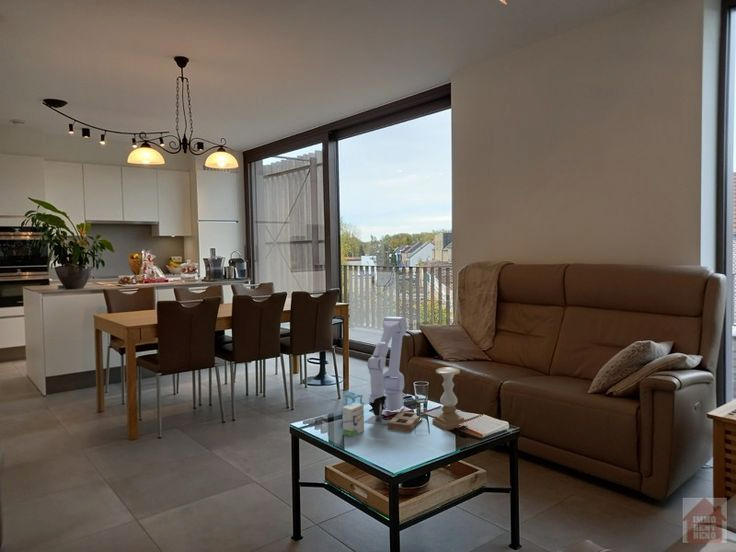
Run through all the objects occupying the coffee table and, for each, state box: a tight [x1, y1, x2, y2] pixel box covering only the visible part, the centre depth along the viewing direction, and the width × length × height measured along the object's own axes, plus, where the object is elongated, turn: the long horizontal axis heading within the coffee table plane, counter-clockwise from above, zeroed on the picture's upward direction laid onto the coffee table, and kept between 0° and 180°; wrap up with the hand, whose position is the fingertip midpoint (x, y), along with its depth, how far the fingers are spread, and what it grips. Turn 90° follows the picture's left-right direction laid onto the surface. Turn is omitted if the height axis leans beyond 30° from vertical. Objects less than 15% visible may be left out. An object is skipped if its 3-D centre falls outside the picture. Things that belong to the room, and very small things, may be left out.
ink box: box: [342, 403, 365, 438], centre depth 222 cm, size 9×5×12 cm, turn 143°
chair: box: [341, 391, 365, 419], centre depth 241 cm, size 8×8×12 cm
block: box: [386, 410, 420, 433], centre depth 230 cm, size 16×10×3 cm, turn 156°
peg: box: [374, 399, 383, 421], centre depth 236 cm, size 3×3×9 cm
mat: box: [364, 415, 390, 426], centre depth 236 cm, size 10×10×1 cm
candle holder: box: [432, 366, 467, 431], centre depth 227 cm, size 11×11×24 cm
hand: (378, 413), depth 236 cm, fingers closed on peg, 3 cm apart
